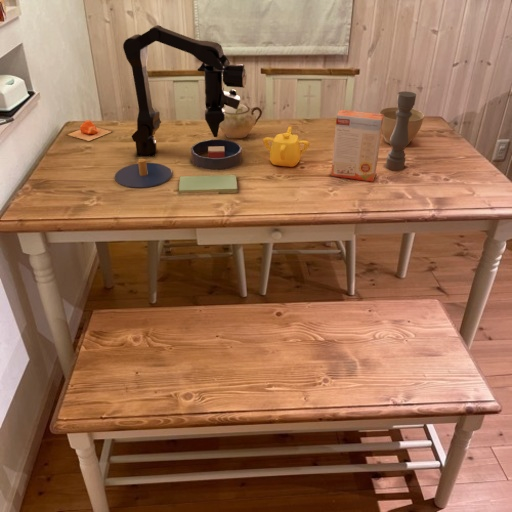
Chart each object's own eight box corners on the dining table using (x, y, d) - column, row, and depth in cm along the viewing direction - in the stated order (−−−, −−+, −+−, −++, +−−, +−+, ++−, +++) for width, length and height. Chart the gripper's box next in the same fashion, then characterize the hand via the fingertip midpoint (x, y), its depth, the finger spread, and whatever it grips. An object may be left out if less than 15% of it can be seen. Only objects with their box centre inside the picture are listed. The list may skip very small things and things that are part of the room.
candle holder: (405, 165, 179) (418, 92, 165) (401, 172, 175) (415, 98, 161) (387, 162, 181) (399, 90, 167) (383, 168, 177) (395, 95, 163)
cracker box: (375, 175, 172) (384, 113, 161) (372, 182, 168) (382, 119, 156) (334, 169, 176) (340, 108, 164) (330, 176, 171) (336, 114, 160)
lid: (111, 190, 161) (108, 173, 158) (119, 166, 176) (116, 149, 173) (170, 189, 163) (169, 171, 159) (173, 165, 178) (172, 148, 174)
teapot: (258, 158, 183) (259, 130, 177) (289, 151, 189) (290, 123, 183) (279, 172, 173) (280, 143, 168) (310, 165, 179) (313, 136, 173)
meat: (208, 161, 179) (208, 151, 177) (208, 157, 182) (208, 146, 180) (224, 161, 179) (224, 150, 177) (224, 156, 183) (224, 146, 180)
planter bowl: (424, 139, 200) (429, 111, 194) (410, 152, 188) (416, 123, 182) (384, 130, 207) (388, 103, 201) (369, 143, 195) (373, 115, 189)
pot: (191, 171, 173) (190, 159, 171) (192, 151, 188) (191, 139, 185) (242, 170, 175) (242, 158, 172) (240, 150, 189) (240, 138, 186)
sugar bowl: (210, 142, 195) (209, 103, 186) (211, 128, 207) (209, 90, 199) (262, 142, 196) (263, 102, 187) (260, 128, 208) (260, 90, 200)
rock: (89, 141, 195) (87, 130, 192) (66, 134, 200) (64, 124, 198) (112, 131, 203) (110, 121, 201) (90, 125, 208) (88, 115, 206)
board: (179, 194, 160) (178, 190, 159) (180, 180, 168) (180, 176, 167) (237, 192, 161) (237, 188, 160) (235, 178, 169) (235, 174, 168)
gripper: (240, 93, 159) (240, 141, 168) (237, 77, 175) (237, 122, 183) (203, 94, 159) (206, 142, 167) (204, 77, 174) (206, 122, 183)
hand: (215, 132), depth 175 cm, fingers open, 9 cm apart
